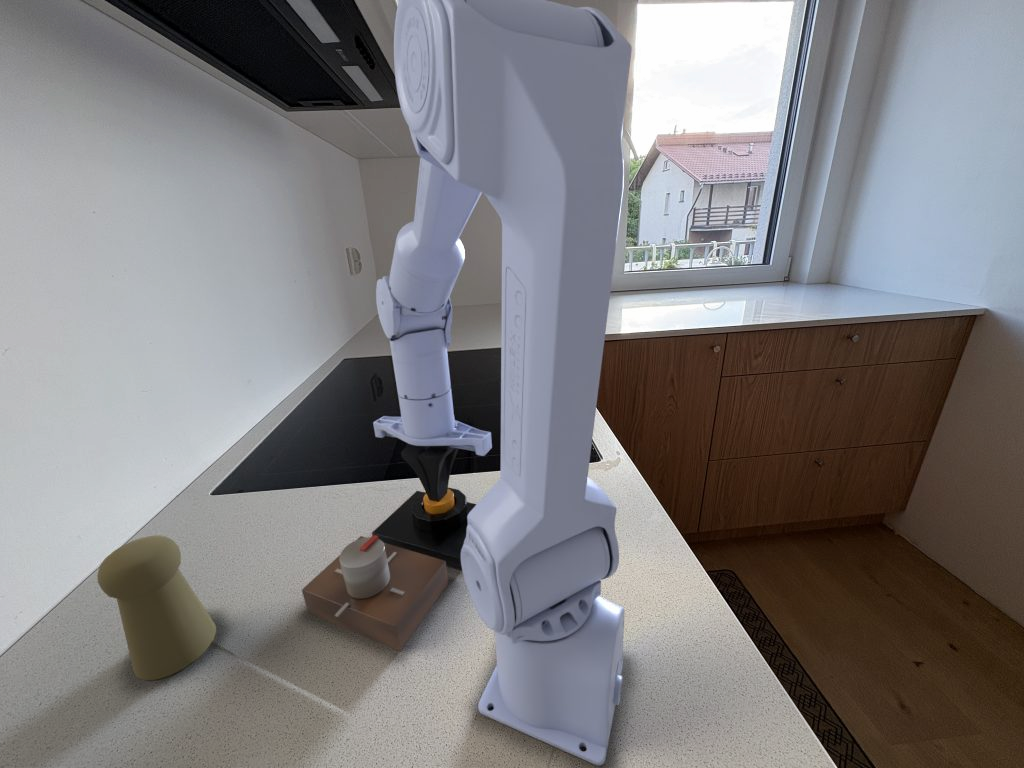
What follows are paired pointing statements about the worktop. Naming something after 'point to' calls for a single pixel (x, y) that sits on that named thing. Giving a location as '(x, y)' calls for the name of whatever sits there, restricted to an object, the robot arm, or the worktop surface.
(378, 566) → the dimmer knob
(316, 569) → the worktop surface
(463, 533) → the lamp switch
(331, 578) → the dimmer panel
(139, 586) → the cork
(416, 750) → the worktop surface
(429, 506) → the power button
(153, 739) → the worktop surface
